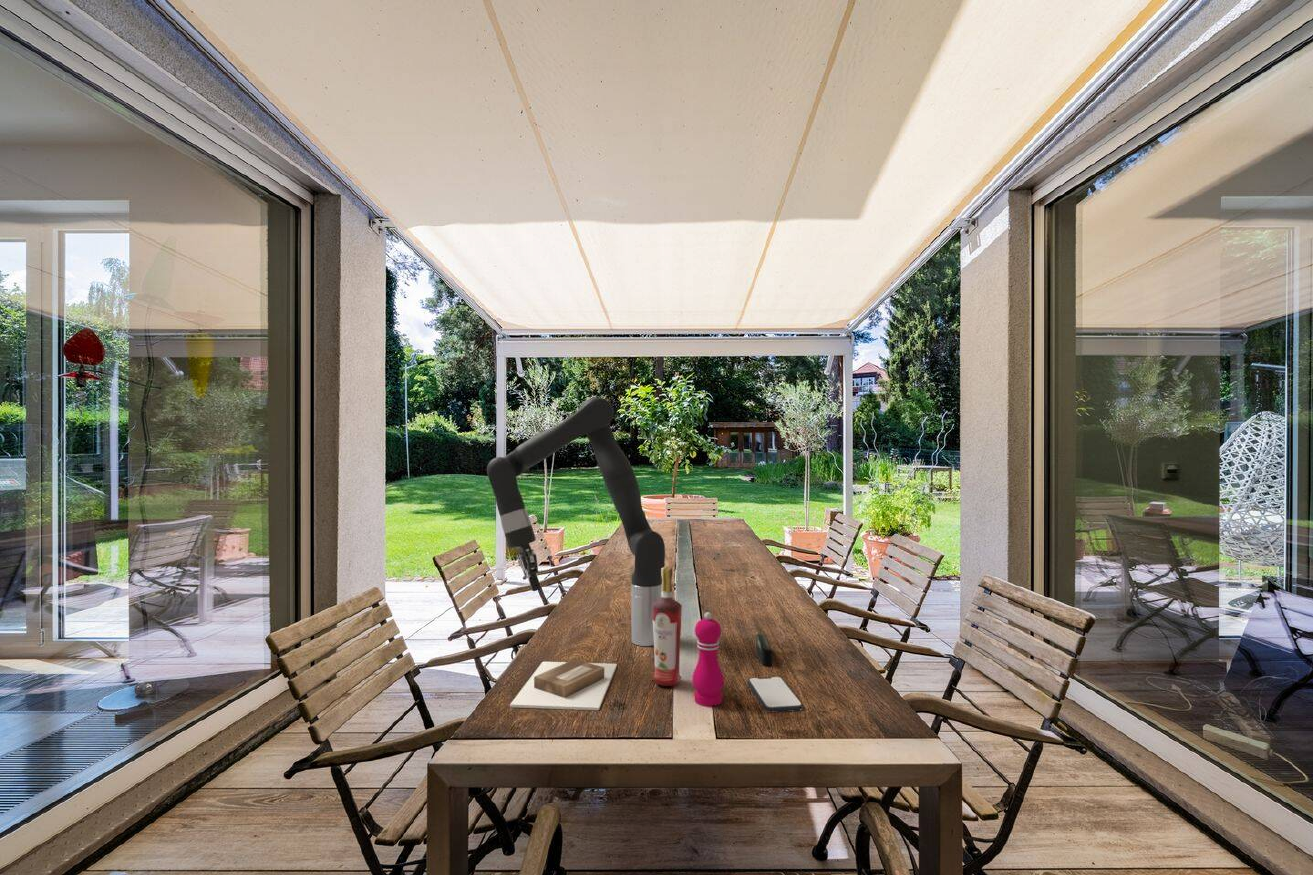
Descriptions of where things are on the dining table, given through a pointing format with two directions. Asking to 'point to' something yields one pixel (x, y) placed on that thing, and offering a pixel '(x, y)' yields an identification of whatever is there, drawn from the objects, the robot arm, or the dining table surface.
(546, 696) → the mat
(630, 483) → the robot arm
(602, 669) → the slab
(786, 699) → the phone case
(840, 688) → the dining table surface
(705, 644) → the pepper mill
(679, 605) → the liquor
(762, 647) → the mobile phone
